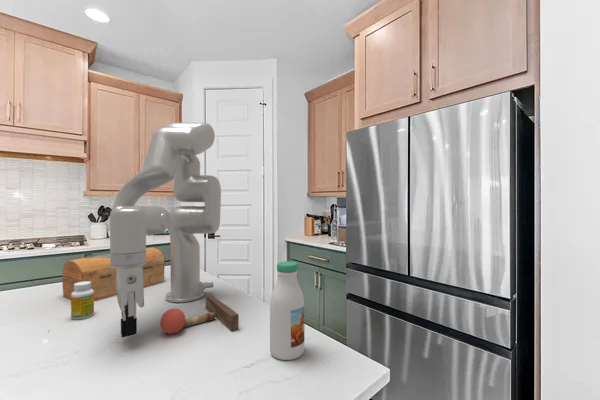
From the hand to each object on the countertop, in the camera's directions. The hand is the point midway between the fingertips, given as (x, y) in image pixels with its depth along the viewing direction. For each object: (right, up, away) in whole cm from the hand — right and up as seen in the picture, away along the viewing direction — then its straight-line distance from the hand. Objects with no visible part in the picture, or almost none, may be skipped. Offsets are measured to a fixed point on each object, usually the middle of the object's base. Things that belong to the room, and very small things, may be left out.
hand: (128, 334), depth 72 cm
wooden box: (-28, -2, +41) cm, 50 cm away
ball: (+9, +1, +4) cm, 10 cm away
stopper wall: (+19, -1, +14) cm, 23 cm away
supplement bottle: (-22, -2, +15) cm, 27 cm away
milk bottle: (+38, -2, -5) cm, 39 cm away
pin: (+10, 0, +7) cm, 12 cm away
